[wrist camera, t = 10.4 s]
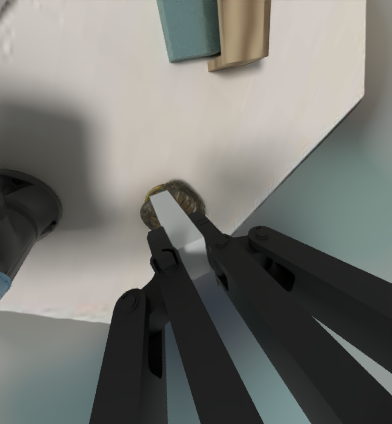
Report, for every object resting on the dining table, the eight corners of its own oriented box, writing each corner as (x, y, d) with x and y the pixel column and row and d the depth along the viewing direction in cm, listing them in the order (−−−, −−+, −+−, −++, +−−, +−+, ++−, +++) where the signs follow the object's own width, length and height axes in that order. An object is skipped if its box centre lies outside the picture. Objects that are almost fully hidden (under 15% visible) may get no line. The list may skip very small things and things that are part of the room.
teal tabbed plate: (169, 62, 33) (173, 58, 30) (154, -8, 28) (158, -20, 25) (228, 52, 36) (236, 48, 34) (225, -12, 31) (234, -22, 29)
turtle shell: (180, 256, 51) (133, 231, 36) (169, 236, 57) (124, 208, 42) (219, 221, 51) (188, 181, 36) (204, 205, 57) (172, 165, 42)
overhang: (208, 71, 36) (226, 63, 31) (197, -33, 28) (218, -70, 23) (245, 64, 39) (268, 56, 33) (244, -34, 31) (274, -66, 25)
